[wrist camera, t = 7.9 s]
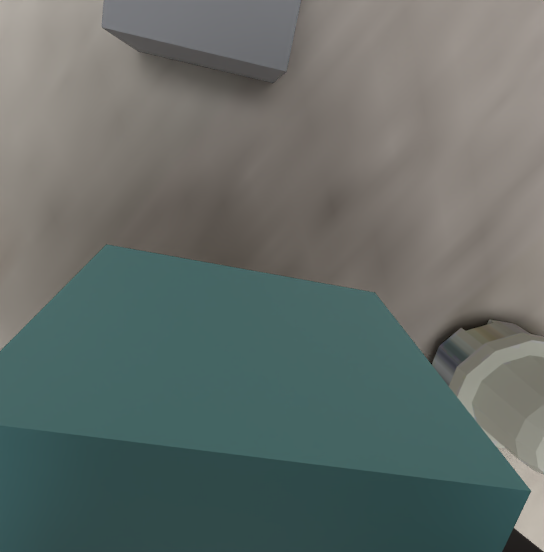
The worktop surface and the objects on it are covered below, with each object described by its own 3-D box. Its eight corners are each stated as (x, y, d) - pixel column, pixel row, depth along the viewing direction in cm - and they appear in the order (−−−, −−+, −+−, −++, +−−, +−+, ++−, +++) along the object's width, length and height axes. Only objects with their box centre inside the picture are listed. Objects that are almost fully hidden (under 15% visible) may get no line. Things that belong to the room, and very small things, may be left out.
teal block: (374, 292, 9) (531, 490, 4) (312, 498, 10) (377, 813, 6) (106, 244, 8) (-67, 416, 4) (82, 472, 10) (-62, 806, 5)
